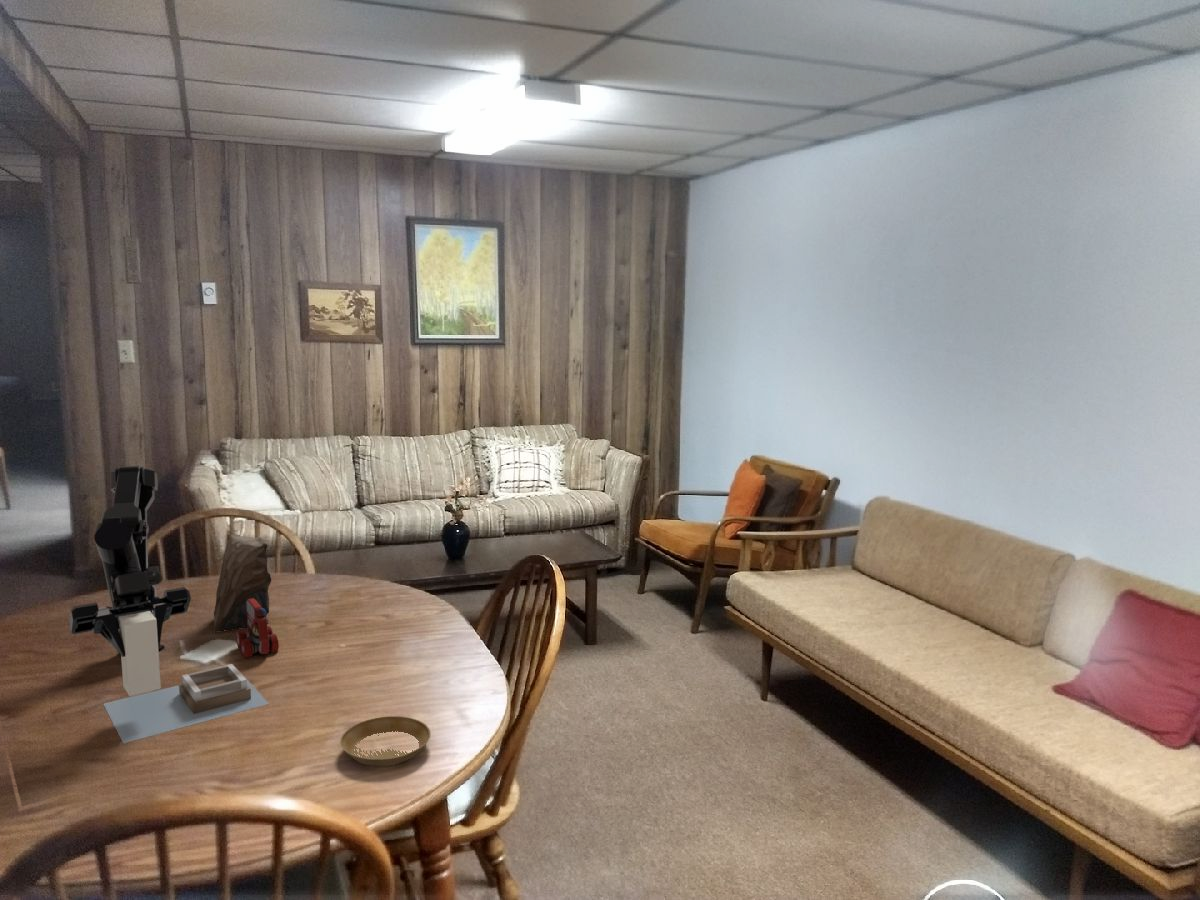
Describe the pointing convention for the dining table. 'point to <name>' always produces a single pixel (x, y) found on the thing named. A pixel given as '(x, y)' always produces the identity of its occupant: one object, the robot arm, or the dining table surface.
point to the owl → (241, 582)
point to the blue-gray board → (166, 712)
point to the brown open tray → (214, 688)
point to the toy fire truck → (256, 632)
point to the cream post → (140, 653)
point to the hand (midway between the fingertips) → (141, 652)
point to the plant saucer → (384, 725)
